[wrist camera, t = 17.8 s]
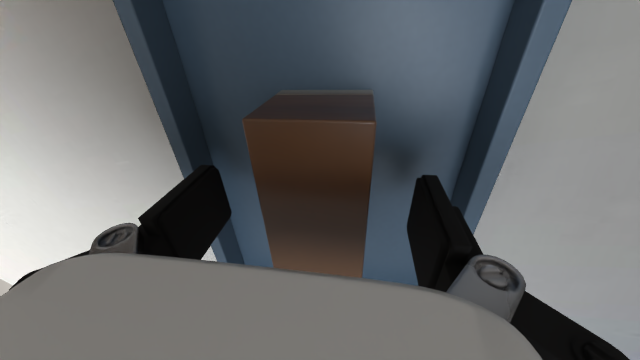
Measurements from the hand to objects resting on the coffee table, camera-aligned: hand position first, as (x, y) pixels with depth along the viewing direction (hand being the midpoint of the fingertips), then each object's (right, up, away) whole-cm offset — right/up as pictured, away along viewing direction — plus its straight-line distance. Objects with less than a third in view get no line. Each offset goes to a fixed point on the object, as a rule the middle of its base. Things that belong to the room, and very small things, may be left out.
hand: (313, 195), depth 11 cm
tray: (+1, +2, +3) cm, 3 cm away
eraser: (+1, +1, +2) cm, 3 cm away
